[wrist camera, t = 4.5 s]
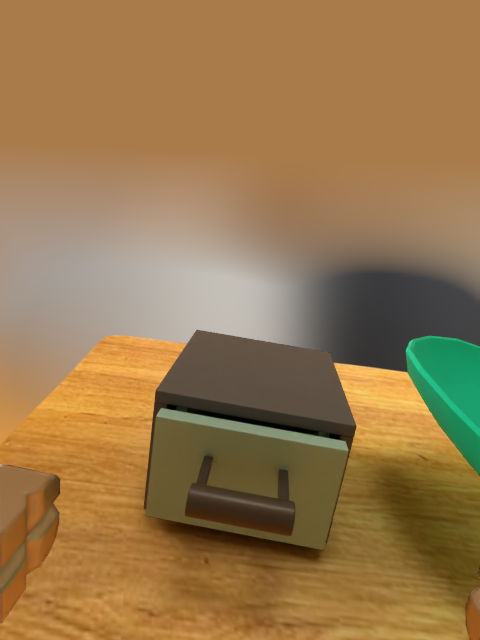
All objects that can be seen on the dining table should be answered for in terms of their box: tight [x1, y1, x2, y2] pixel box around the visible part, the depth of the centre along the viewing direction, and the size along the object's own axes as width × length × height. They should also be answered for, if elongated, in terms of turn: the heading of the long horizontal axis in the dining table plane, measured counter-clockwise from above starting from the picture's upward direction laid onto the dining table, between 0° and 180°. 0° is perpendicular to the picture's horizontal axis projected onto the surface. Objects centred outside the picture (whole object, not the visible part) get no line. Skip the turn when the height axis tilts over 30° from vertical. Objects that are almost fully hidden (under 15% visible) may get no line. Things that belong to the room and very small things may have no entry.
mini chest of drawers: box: [144, 330, 356, 543], centre depth 36 cm, size 15×14×10 cm
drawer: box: [146, 406, 349, 550], centre depth 32 cm, size 18×13×8 cm
